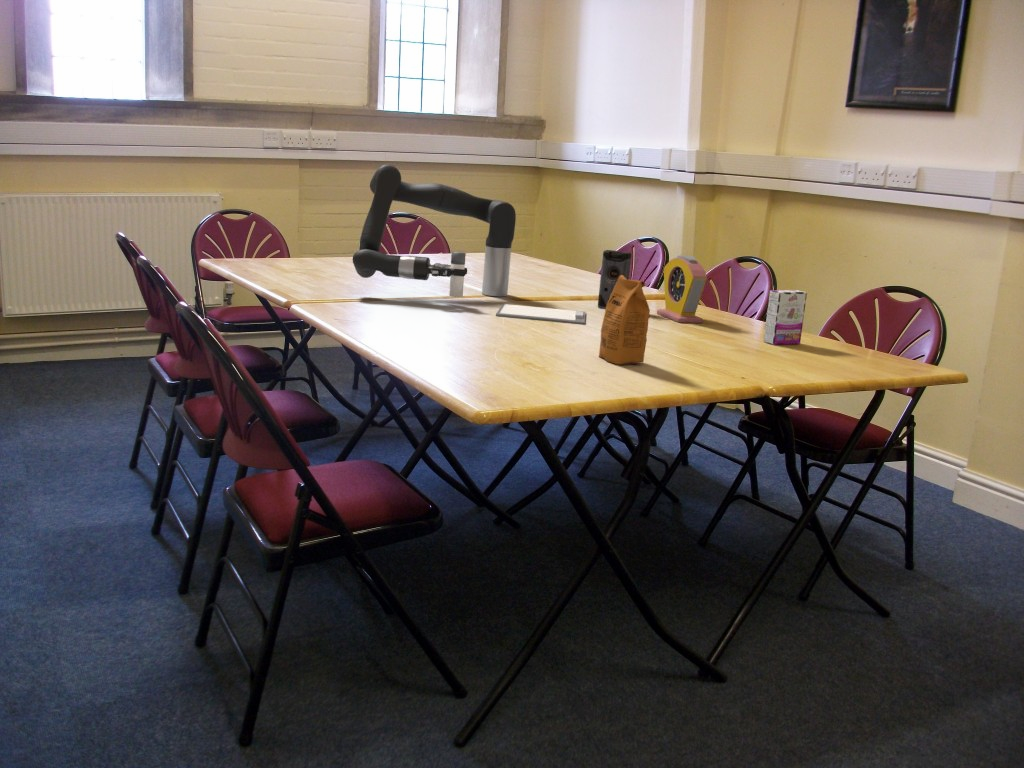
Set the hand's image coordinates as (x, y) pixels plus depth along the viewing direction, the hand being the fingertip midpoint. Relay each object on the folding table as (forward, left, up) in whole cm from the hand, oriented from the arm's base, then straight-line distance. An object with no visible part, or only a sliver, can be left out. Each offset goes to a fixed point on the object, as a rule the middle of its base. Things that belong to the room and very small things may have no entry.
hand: (465, 272), depth 319 cm
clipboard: (+2, +26, -11) cm, 28 cm away
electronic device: (-25, +49, -11) cm, 56 cm away
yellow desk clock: (-17, +72, -12) cm, 75 cm away
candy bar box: (+13, +101, -11) cm, 103 cm away
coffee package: (+64, +50, -11) cm, 82 cm away
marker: (0, -3, -8) cm, 8 cm away
